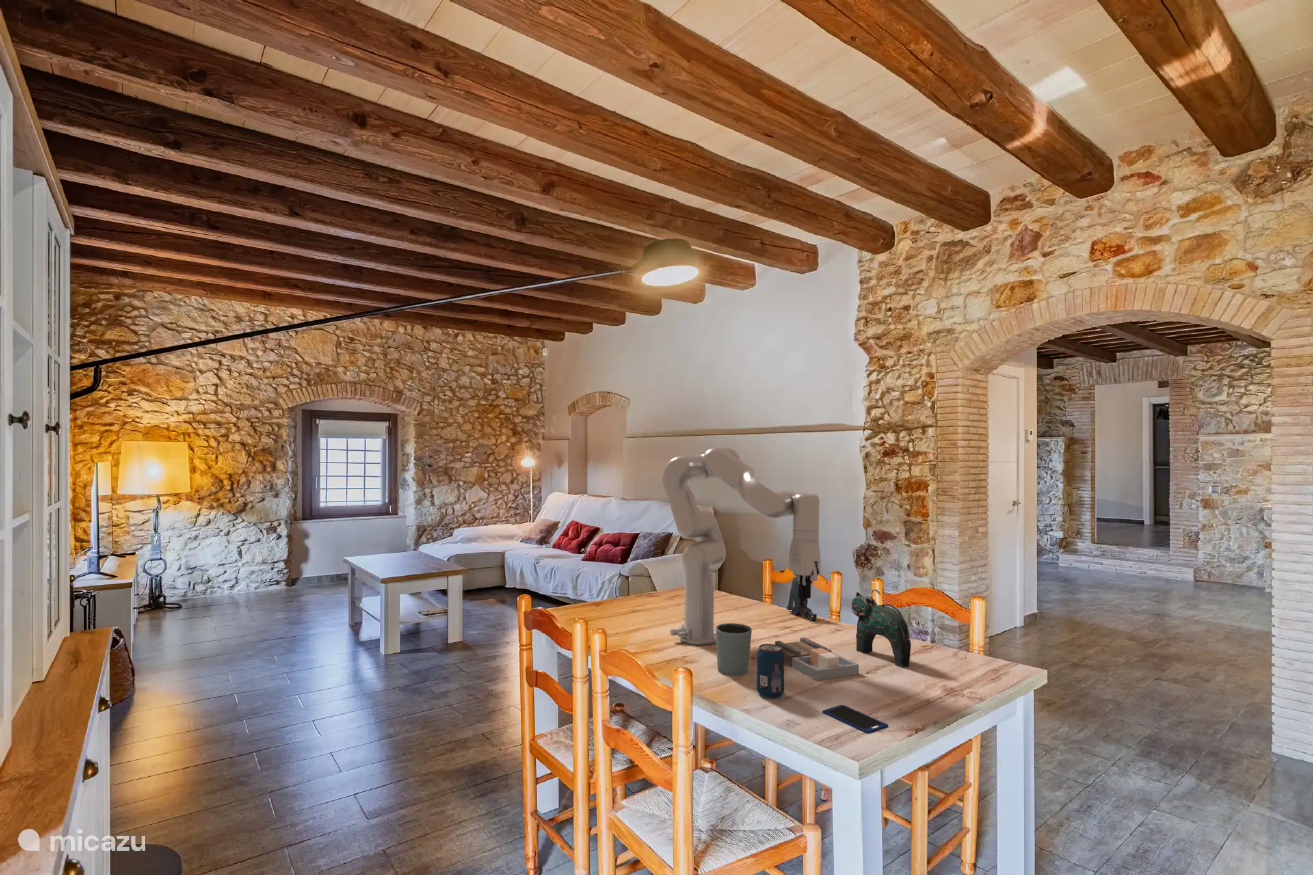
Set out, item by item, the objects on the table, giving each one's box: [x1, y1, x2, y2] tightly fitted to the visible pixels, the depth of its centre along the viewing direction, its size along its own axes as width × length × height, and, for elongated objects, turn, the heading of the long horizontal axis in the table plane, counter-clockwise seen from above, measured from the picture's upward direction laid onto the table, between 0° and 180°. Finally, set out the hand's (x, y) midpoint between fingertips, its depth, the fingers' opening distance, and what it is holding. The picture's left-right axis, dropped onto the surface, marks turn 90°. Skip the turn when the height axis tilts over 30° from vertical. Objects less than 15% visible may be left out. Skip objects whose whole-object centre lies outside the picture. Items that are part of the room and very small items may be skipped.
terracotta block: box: [810, 648, 829, 667], centre depth 188 cm, size 4×4×4 cm
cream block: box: [818, 652, 840, 669], centre depth 184 cm, size 4×4×4 cm
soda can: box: [755, 643, 785, 700], centre depth 168 cm, size 7×7×12 cm
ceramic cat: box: [851, 589, 912, 668], centre depth 198 cm, size 20×6×20 cm, turn 27°
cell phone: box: [821, 704, 889, 734], centre depth 153 cm, size 7×14×1 cm, turn 32°
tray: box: [791, 651, 860, 681], centre depth 186 cm, size 14×12×3 cm
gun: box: [786, 576, 818, 623], centre depth 243 cm, size 3×17×15 cm
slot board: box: [774, 637, 832, 668], centre depth 197 cm, size 14×11×4 cm
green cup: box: [715, 622, 753, 677], centre depth 185 cm, size 10×10×12 cm
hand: (804, 597), depth 195 cm, fingers closed
